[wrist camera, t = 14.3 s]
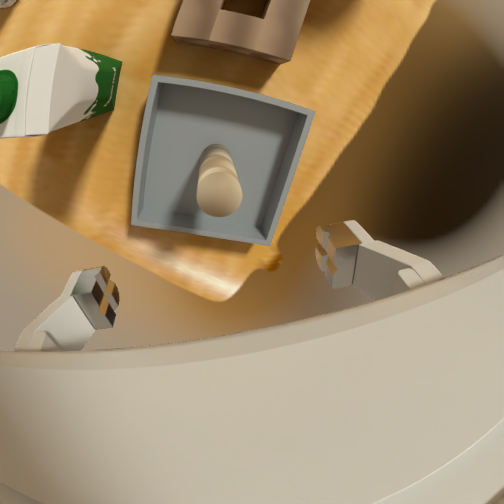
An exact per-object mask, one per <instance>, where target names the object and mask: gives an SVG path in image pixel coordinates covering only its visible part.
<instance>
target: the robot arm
mask: <svg viewBox="0 0 504 504" xmlns="http://www.w3.org/2000/svg"><path fill="white" fill-rule="evenodd" d="M16 1H17V0H0V8H7V7H11V6H12V5H13V4H14V3H15V2H16ZM316 237H317V239H318V240H319V243H318V245H317V246H316V258H317V262H318V265H319V267H320V269H321V270H322V271H324V272H326V275H325V278H326V280H327V282H328V283H329V285H330V287H331V289H336V288H341V287H345V286H350V285H353V287H355V288H356V289H358V290H359V291H361V292H362V293H364V294H366V295H367V296H369V297H370V298H372V299H373V300H375V301H372V302H368V303H365V304H361V305H358V306H354V307H351V308H347V309H343V310H339V311H336V312H332V313H328V314H324V315H320V316H316V317H311V318H307V319H303V320H298V321H294V322H289V323H285V324H281V325H276V326H271V327H265V328H261V329H255V330H250V331H245V332H239V333H234V334H228V335H222V336H216V337H210V338H203V339H197V340H190V341H183V342H175V343H167V344H159V345H149V346H139V347H129V348H117V349H103V350H86V351H81V350H82V349H83V347H84V346H85V344H86V343H87V342H88V340H89V339H90V337H91V336H92V335H93V333H94V332H95V330H97V329H103V328H110V327H113V324H114V320H115V316H116V314H115V312H114V310H115V309H116V308H117V307H118V305H119V292H118V288H117V286H116V284H115V283H114V282H113V281H111V280H110V272H109V270H108V269H107V267H105V266H101V267H96V268H90V269H84V270H79V271H75V272H73V273H72V274H71V276H70V278H69V280H68V282H67V284H66V286H65V288H64V290H63V292H62V295H61V296H60V298H57V299H56V300H55V301H54V302H52V303H51V304H50V305H49V306H48V307H47V308H46V309H45V310H44V311H43V312H42V313H41V314H40V315H39V316H38V317H37V318H35V320H33V321H32V322H31V323H30V324H29V325H28V326H27V327H26V328H25V329H24V330H23V331H22V333H21V335H20V337H19V340H18V342H17V344H16V347H15V349H14V351H0V504H504V255H500V256H497V257H495V258H493V259H491V260H488V261H486V262H484V263H481V264H479V265H476V266H474V267H471V268H469V269H466V270H464V271H461V272H459V273H456V274H454V275H451V276H448V277H445V278H444V276H443V275H442V274H441V273H440V272H439V271H438V270H437V269H436V268H435V267H434V265H433V264H432V263H430V261H428V260H425V259H423V258H421V257H418V256H416V255H413V254H411V253H408V252H406V251H404V250H401V249H399V248H396V247H393V246H391V245H388V244H386V243H383V242H380V241H374V240H373V239H372V238H371V237H370V236H369V235H368V234H367V232H366V231H365V230H364V229H363V228H362V227H361V226H360V225H359V224H358V223H357V222H356V221H354V220H351V221H346V222H342V223H336V224H332V225H326V226H321V227H317V231H316Z"/></svg>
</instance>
